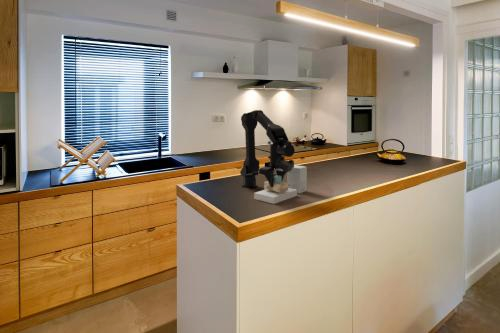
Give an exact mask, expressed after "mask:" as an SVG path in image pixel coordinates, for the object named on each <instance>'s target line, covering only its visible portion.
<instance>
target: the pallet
mask: <svg viewBox="0 0 500 333" xmlns="http://www.w3.org/2000/svg"><path fill="white" fill-rule="evenodd" d="M265 189H267V190H271V191H276V192H280V193H281V192H284V191H287V190H288V183H287V181H282V182H281V183H277V184H275V183H273V188H271V187H270V185H269V183H268V180H266V181H264V182H263V190H265Z"/></svg>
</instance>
